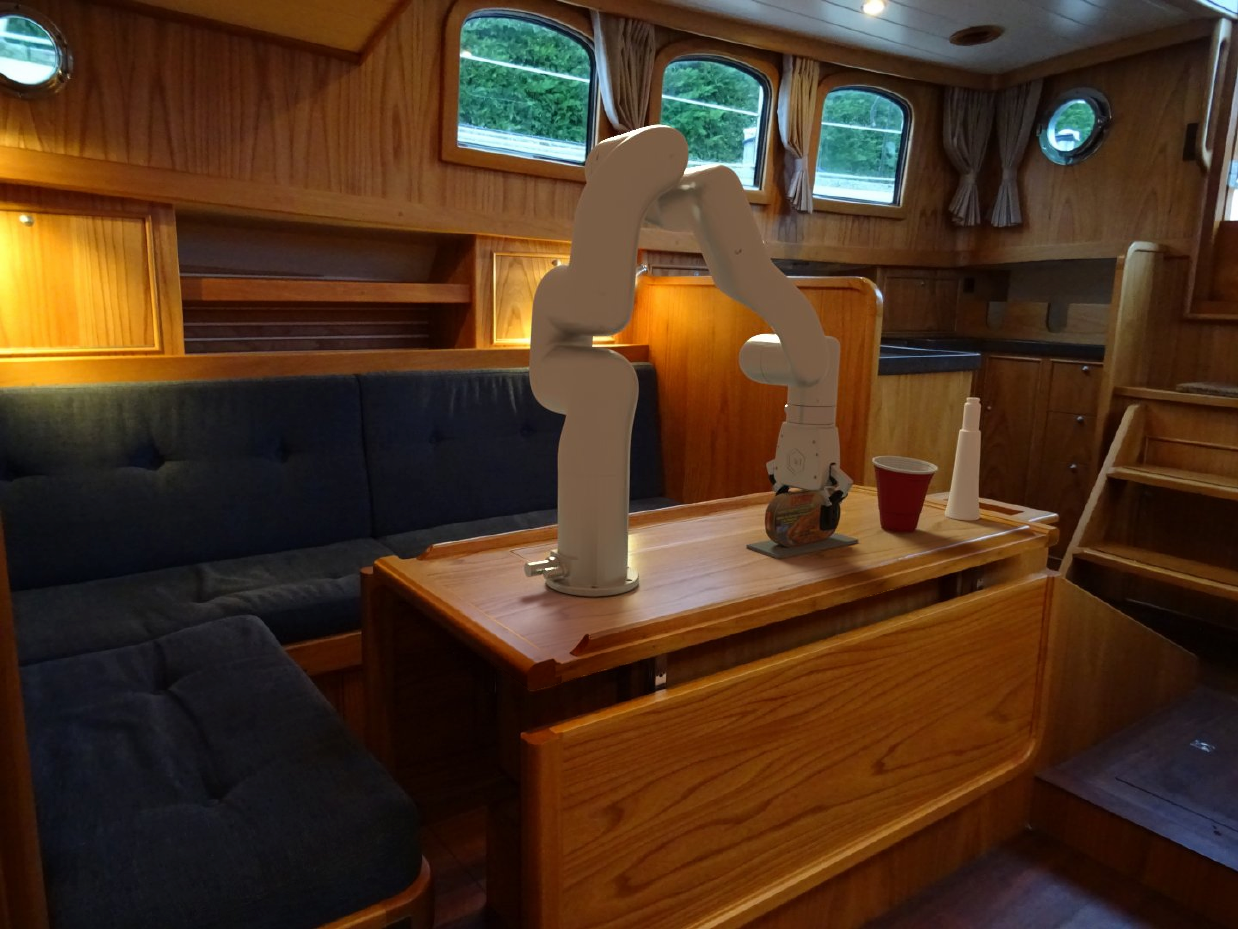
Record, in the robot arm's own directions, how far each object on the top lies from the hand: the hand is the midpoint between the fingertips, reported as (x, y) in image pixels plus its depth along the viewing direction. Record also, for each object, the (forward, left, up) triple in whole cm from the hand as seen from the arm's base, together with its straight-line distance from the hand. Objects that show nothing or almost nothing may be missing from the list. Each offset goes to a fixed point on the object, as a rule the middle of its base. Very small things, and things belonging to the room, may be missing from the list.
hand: (804, 522), depth 136 cm
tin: (0, 0, -3) cm, 3 cm away
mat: (0, 0, -4) cm, 4 cm away
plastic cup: (+22, -1, -4) cm, 22 cm away
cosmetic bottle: (+40, -1, -4) cm, 40 cm away
